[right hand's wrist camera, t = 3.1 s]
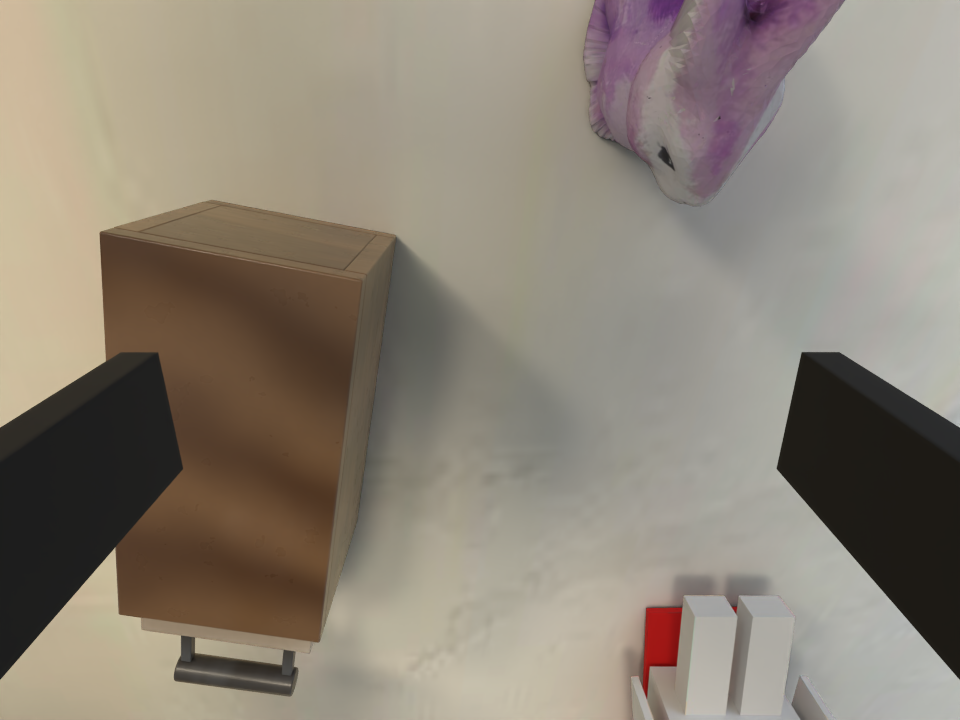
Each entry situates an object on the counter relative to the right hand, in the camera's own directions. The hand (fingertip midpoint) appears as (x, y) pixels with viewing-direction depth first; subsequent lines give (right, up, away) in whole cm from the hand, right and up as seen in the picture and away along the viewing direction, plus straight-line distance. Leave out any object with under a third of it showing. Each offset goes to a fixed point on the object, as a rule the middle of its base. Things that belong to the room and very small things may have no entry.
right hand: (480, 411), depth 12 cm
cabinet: (-12, 0, +24) cm, 27 cm away
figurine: (+9, +16, +18) cm, 26 cm away
